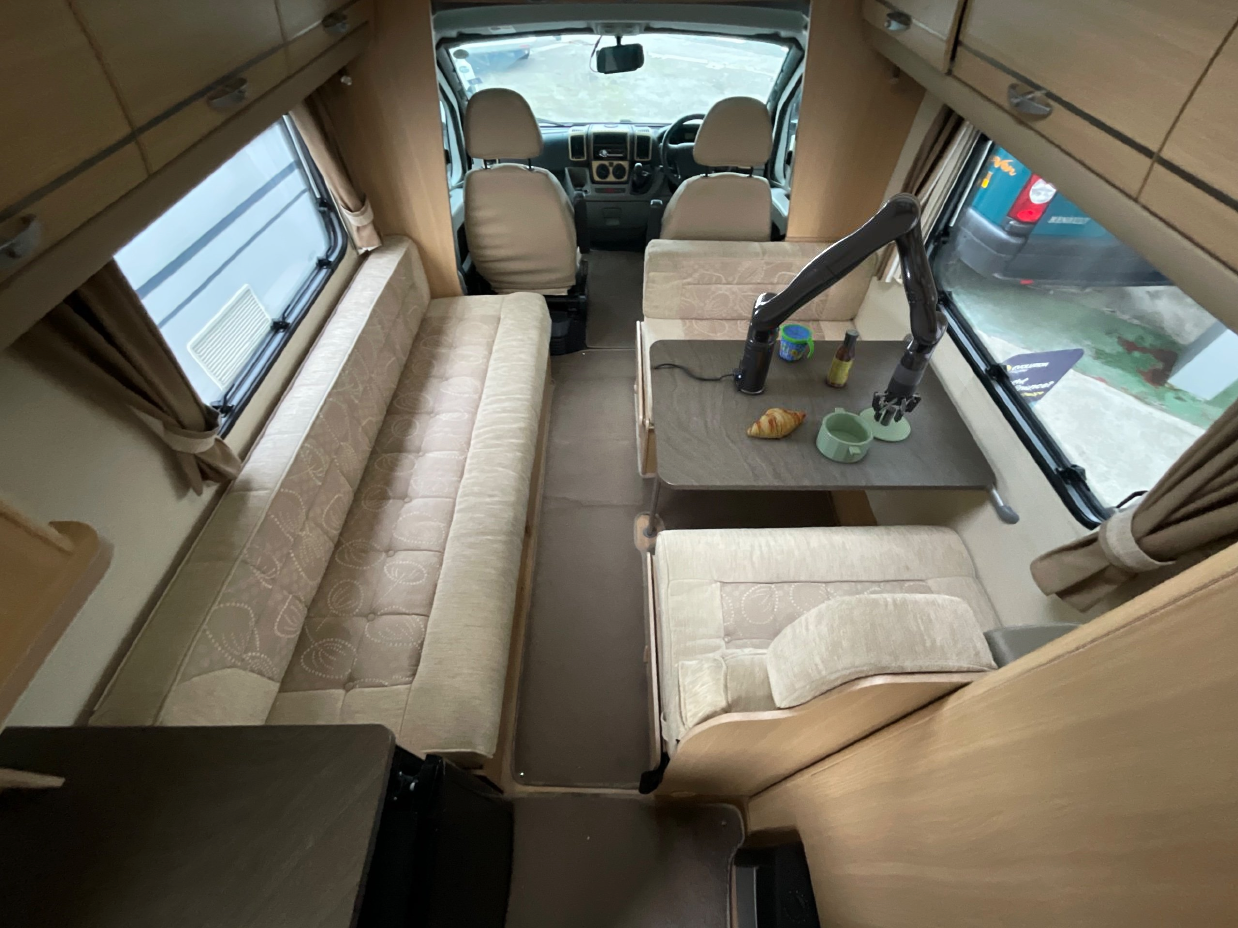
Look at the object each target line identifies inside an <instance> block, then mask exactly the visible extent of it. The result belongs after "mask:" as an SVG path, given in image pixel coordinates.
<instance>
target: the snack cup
mask: <svg viewBox="0 0 1238 928" xmlns="http://www.w3.org/2000/svg"><path fill="white" fill-rule="evenodd" d="M780 336H781V338H780V347H779V356H780V357H781V358H782V359H784V360H787V361H788V362H791V361H793V362H794V361H799V359H800V358H801V357H802V355H803V353H804V351H805V350H806V347H807V346H808V347H809V352H808V355H807V356H806V358H807V359H808V358H810V357H812V355H813V354H814V351H815V350H814V349H815V345H814V341H813V339H812V336H813V333H812V331H811V330H810V329H809V328H808V327H806V326H804V325H802V324H798V323H788V324H785V325H782V326H779V331H778V335H777V339H779V337H780Z"/></svg>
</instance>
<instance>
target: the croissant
mask: <svg viewBox="0 0 1238 928" xmlns="http://www.w3.org/2000/svg"><path fill="white" fill-rule="evenodd" d="M806 417H807V414H806V413H805V411H800V412H799V411H797V410H793V411H791V410H787V409H784V408H779V407H774V408H769V409H768V410H767V411H766V412H765V414H763V415H762V416H761V417H760V419H759V420H758V421H756V422H754V424H753V425H752V427H749V428H748V430H747V431H746V432H747V435H748V436H751V437H755V438H761V439H776V438H777V439H782V437H784V436H787V435H789V434H790V433H792V432H794V430H795V429H797V428H798V426H799V425H802V423H803V422H804V419H805V418H806Z"/></svg>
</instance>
